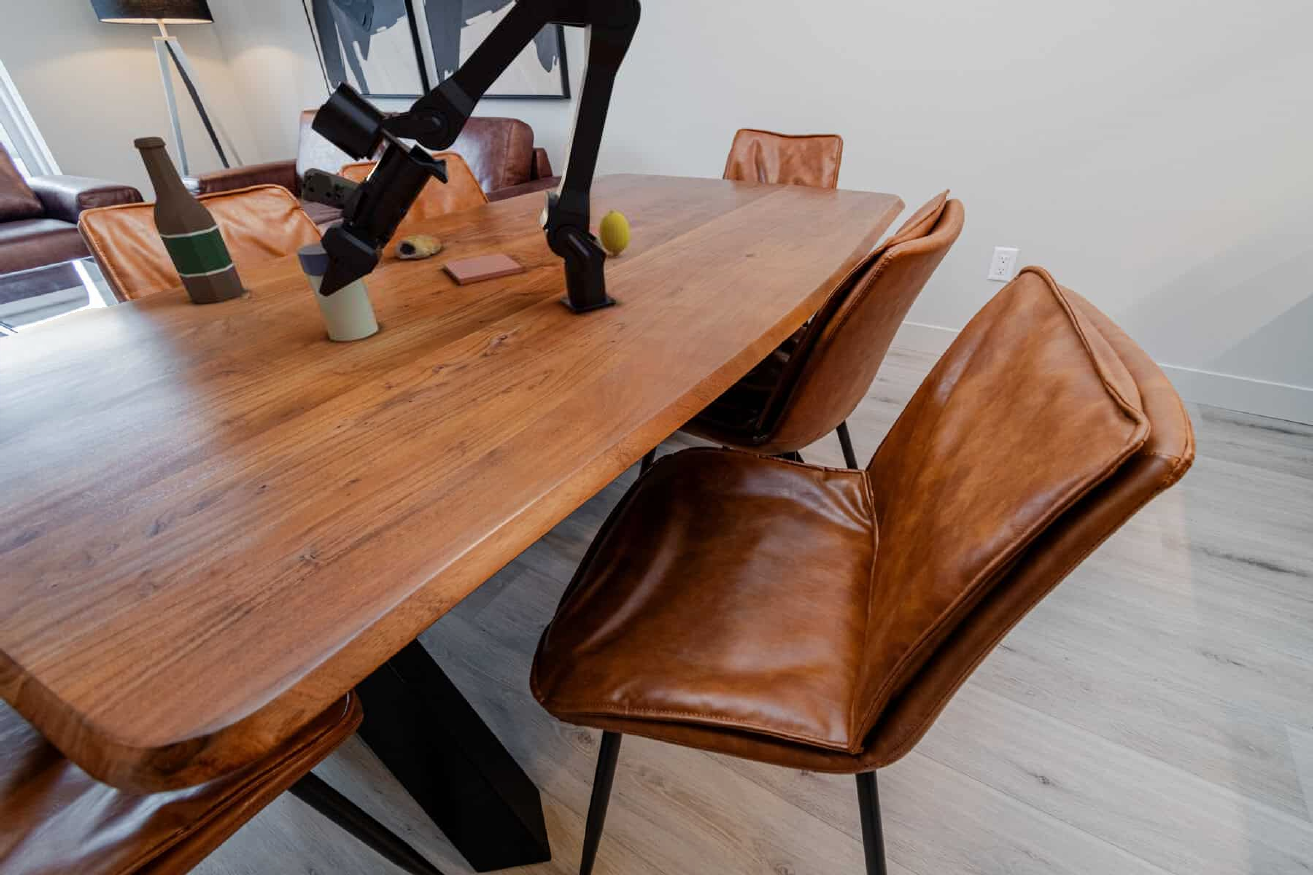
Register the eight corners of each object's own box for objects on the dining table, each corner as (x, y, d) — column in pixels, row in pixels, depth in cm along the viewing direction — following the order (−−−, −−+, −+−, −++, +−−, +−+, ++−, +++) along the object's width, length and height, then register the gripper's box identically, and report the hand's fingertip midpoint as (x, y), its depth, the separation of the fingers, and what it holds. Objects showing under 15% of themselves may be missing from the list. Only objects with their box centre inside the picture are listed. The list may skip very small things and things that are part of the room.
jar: (384, 332, 83) (358, 249, 77) (336, 345, 80) (305, 260, 74) (371, 320, 88) (345, 241, 82) (324, 332, 84) (294, 250, 78)
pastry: (421, 246, 122) (417, 227, 120) (451, 247, 121) (446, 228, 119) (393, 259, 115) (388, 239, 113) (424, 261, 113) (419, 240, 111)
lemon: (595, 258, 109) (591, 212, 105) (611, 250, 113) (607, 206, 109) (621, 261, 107) (618, 214, 103) (636, 253, 111) (633, 208, 107)
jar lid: (366, 266, 78) (360, 246, 77) (310, 278, 75) (302, 257, 74) (352, 256, 83) (346, 237, 82) (298, 267, 80) (291, 247, 78)
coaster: (523, 272, 104) (522, 266, 104) (460, 284, 100) (459, 279, 99) (503, 258, 112) (502, 252, 112) (444, 269, 108) (443, 263, 107)
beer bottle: (219, 305, 97) (144, 140, 84) (180, 303, 98) (100, 142, 85) (255, 289, 103) (191, 134, 90) (218, 288, 105) (149, 135, 92)
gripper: (345, 134, 80) (287, 228, 84) (310, 151, 64) (242, 265, 68) (422, 191, 85) (364, 277, 89) (407, 219, 70) (338, 321, 74)
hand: (330, 283), depth 80 cm, fingers open, 9 cm apart
